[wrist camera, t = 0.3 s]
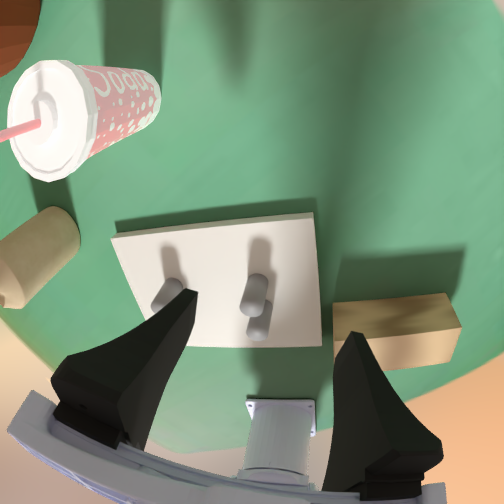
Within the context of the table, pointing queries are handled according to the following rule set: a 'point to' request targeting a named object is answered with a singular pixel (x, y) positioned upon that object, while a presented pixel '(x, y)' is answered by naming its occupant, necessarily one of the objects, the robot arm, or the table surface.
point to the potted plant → (16, 31)
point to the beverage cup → (75, 113)
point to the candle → (35, 255)
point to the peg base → (232, 278)
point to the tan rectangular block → (400, 329)
